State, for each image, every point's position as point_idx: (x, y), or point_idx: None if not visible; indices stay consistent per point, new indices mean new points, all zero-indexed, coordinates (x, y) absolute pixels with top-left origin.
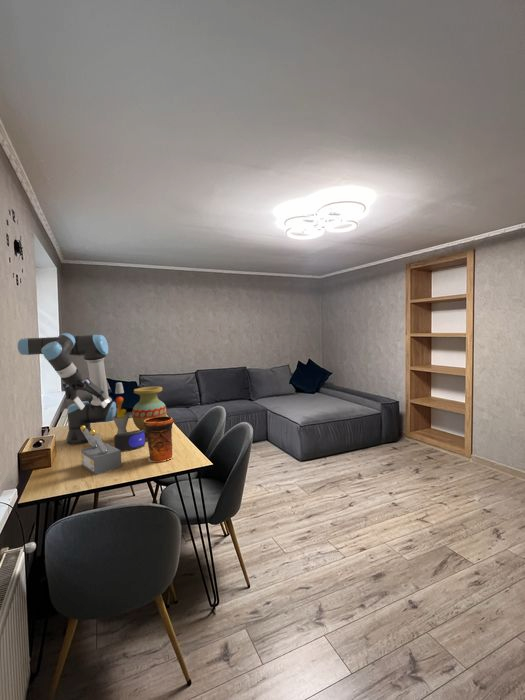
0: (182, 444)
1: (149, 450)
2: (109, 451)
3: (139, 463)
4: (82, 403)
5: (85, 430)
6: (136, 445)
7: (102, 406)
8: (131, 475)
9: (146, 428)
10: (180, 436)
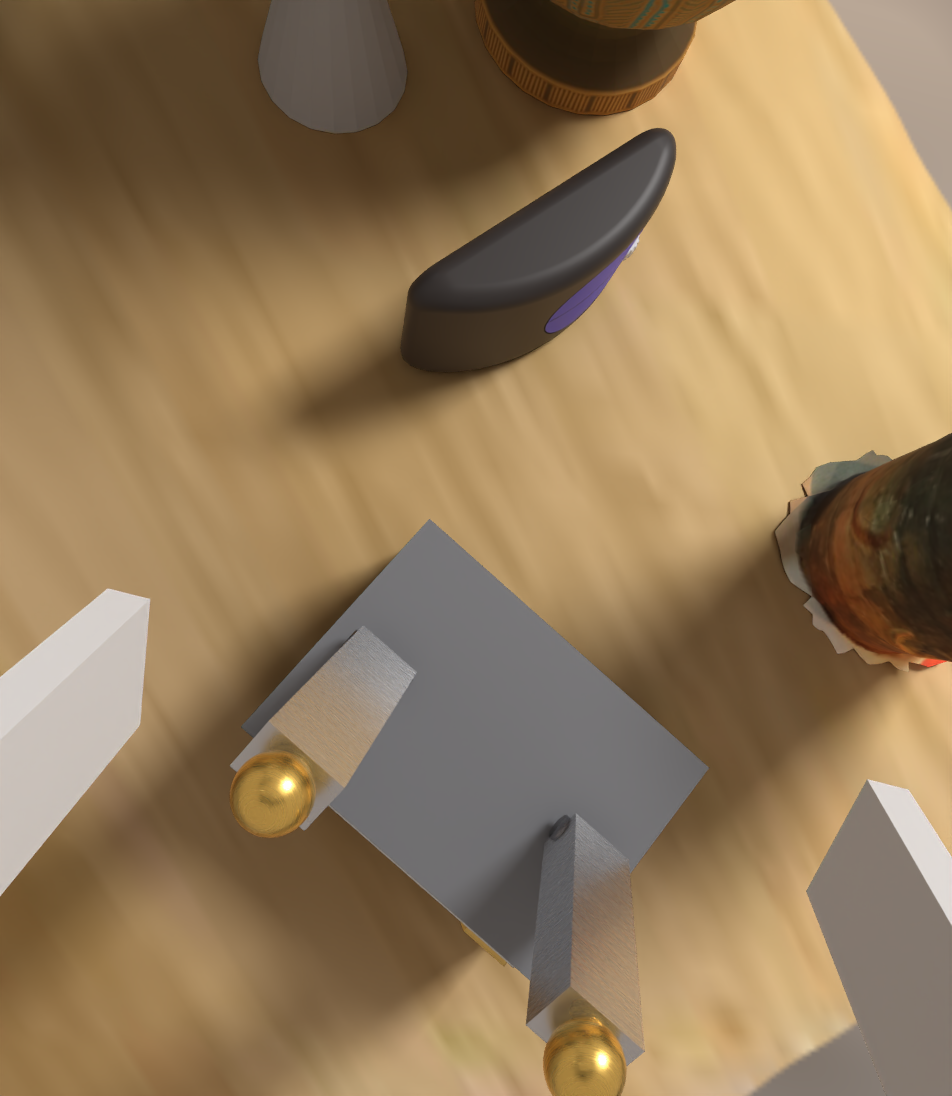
0: (935, 251)
1: (887, 628)
2: (609, 802)
3: (761, 677)
4: (85, 674)
5: (324, 808)
6: (590, 302)
7: (835, 940)
8: (811, 933)
9: None
10: (840, 30)
